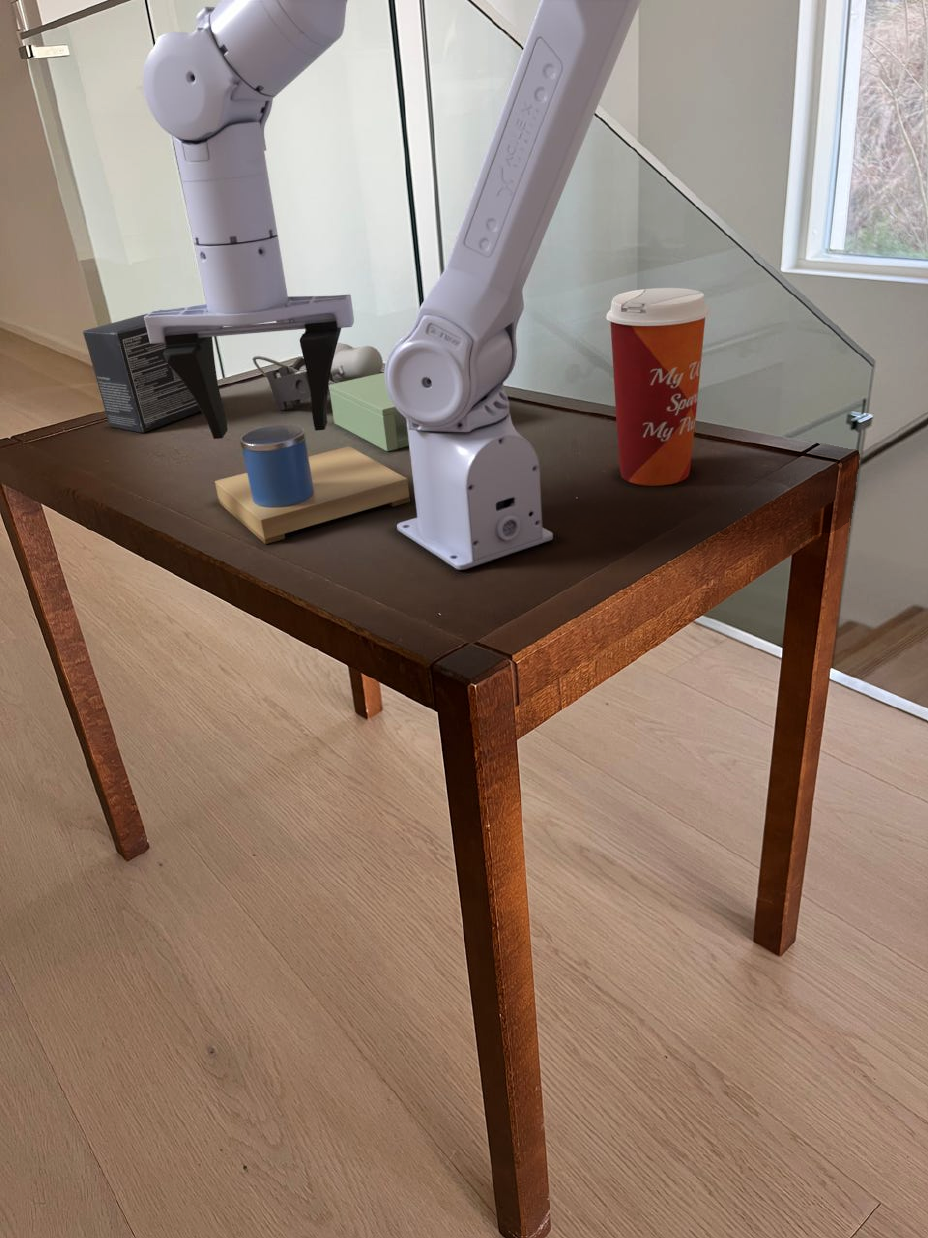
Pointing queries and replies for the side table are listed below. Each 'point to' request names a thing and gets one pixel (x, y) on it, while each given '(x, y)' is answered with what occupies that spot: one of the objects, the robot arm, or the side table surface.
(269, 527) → the low shelf
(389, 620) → the side table surface
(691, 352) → the paper cup
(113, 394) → the small box
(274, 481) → the can
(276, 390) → the clip-on lamp
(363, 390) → the shelf stand
